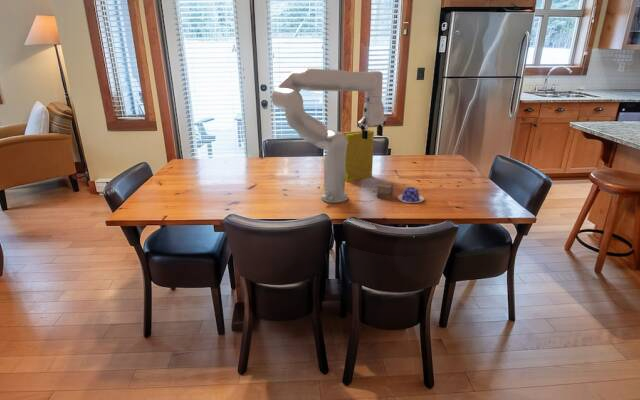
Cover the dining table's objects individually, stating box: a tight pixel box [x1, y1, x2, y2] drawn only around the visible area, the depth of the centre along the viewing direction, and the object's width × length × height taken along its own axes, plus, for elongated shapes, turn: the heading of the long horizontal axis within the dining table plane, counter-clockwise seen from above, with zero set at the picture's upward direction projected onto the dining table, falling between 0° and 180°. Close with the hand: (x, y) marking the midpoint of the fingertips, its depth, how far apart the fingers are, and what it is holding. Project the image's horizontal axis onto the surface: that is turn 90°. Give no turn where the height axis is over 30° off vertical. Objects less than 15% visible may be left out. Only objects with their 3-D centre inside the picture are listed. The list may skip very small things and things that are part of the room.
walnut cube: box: [376, 181, 394, 200], centre depth 176 cm, size 6×6×6 cm
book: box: [340, 129, 375, 182], centre depth 198 cm, size 17×7×25 cm, turn 112°
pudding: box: [397, 186, 425, 204], centre depth 172 cm, size 12×12×5 cm
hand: (372, 137), depth 175 cm, fingers open, 9 cm apart
